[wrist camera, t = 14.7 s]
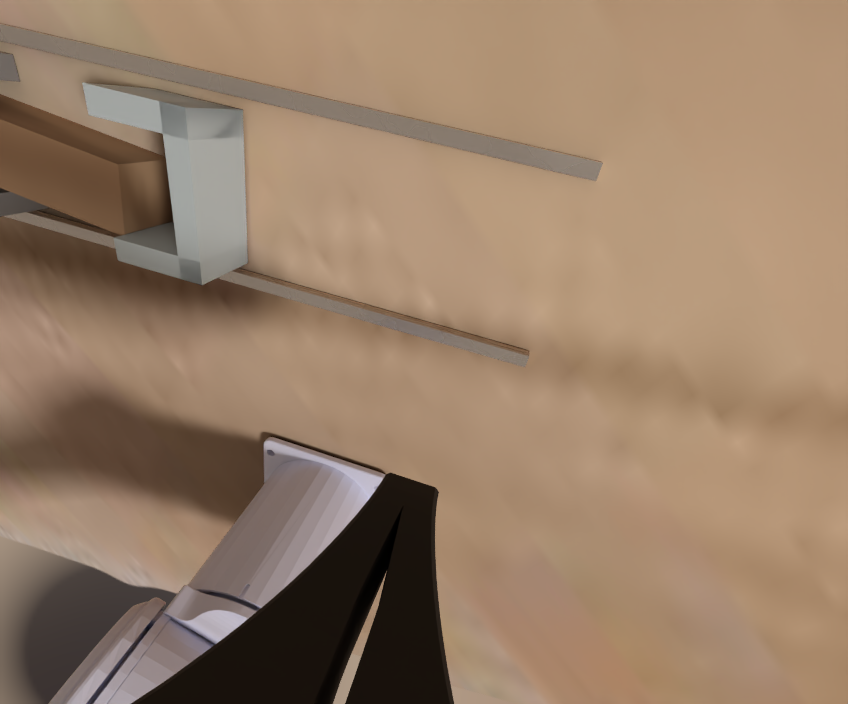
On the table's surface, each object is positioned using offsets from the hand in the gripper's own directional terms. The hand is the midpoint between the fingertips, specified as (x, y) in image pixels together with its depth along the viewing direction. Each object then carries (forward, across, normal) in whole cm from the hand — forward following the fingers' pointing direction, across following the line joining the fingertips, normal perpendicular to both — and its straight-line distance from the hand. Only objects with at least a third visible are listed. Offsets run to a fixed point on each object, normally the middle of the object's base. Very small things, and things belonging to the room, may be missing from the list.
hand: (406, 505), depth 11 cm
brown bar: (+10, +20, -4) cm, 23 cm away
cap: (+10, +13, -4) cm, 17 cm away
